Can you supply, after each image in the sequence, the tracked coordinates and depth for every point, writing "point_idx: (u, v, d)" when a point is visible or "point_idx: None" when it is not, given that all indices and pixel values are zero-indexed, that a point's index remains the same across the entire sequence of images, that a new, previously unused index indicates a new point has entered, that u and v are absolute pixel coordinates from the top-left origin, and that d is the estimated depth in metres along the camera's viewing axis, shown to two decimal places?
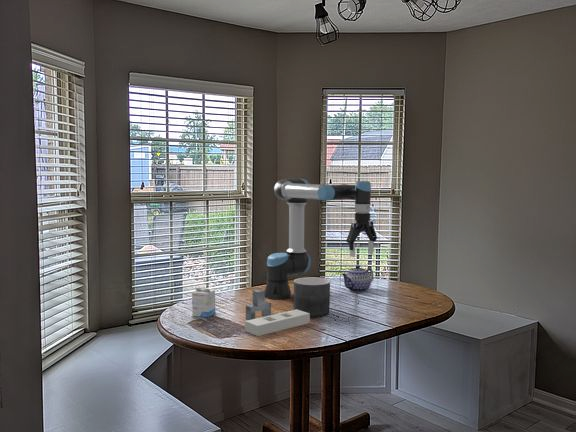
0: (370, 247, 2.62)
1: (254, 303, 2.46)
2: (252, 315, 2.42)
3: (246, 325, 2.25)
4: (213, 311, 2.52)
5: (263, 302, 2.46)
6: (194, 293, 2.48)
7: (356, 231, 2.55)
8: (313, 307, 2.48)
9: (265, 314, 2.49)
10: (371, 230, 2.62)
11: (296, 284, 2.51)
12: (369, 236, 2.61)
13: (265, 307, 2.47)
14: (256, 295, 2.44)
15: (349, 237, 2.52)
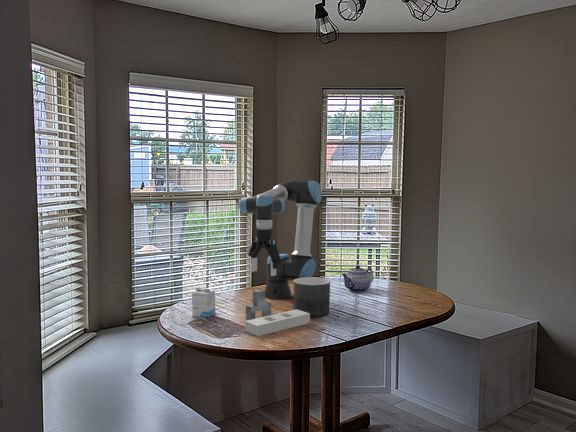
0: None
1: (254, 303, 2.46)
2: (252, 315, 2.42)
3: (246, 325, 2.25)
4: (213, 311, 2.52)
5: (263, 302, 2.46)
6: (194, 293, 2.48)
7: None
8: (313, 307, 2.48)
9: (265, 314, 2.49)
10: None
11: (296, 284, 2.51)
12: None
13: (265, 307, 2.47)
14: (256, 295, 2.44)
15: None
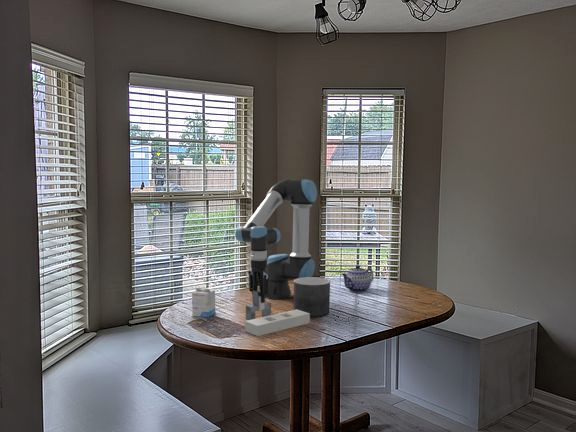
0: None
1: (254, 303, 2.46)
2: (252, 315, 2.42)
3: (246, 325, 2.25)
4: (213, 311, 2.52)
5: None
6: (194, 293, 2.48)
7: None
8: (313, 307, 2.48)
9: (265, 314, 2.49)
10: None
11: (296, 284, 2.51)
12: None
13: (265, 307, 2.47)
14: (256, 295, 2.44)
15: None
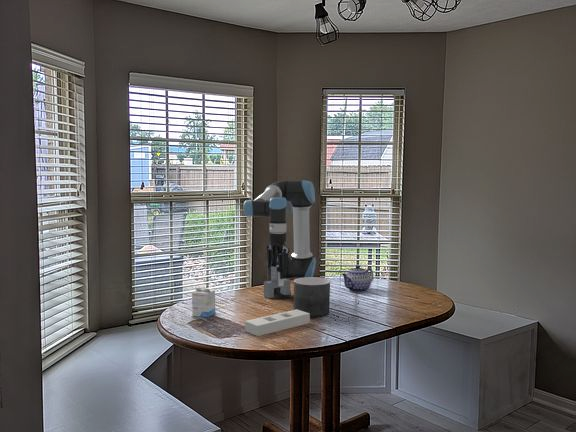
0: None
1: (273, 279, 2.30)
2: (271, 292, 2.27)
3: (246, 325, 2.25)
4: (213, 311, 2.52)
5: None
6: (194, 293, 2.48)
7: None
8: (313, 307, 2.48)
9: (284, 291, 2.33)
10: None
11: (296, 284, 2.51)
12: None
13: (284, 284, 2.32)
14: (275, 271, 2.29)
15: None
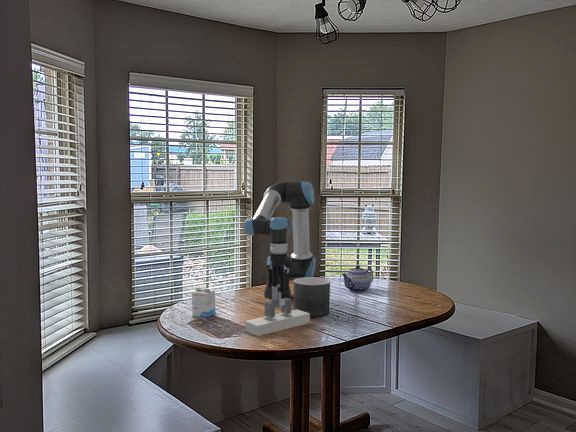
0: None
1: (273, 299, 2.31)
2: (272, 312, 2.27)
3: (246, 325, 2.25)
4: (213, 311, 2.52)
5: None
6: (194, 293, 2.48)
7: None
8: (313, 307, 2.48)
9: (285, 311, 2.34)
10: None
11: (296, 284, 2.51)
12: None
13: (285, 303, 2.32)
14: (276, 290, 2.29)
15: None
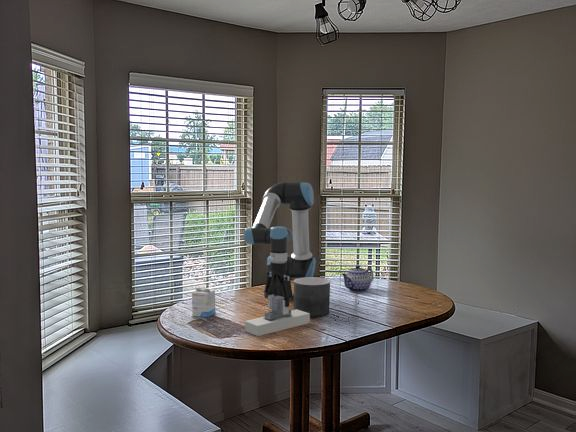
0: None
1: (273, 310, 2.31)
2: None
3: (246, 325, 2.25)
4: (213, 311, 2.52)
5: None
6: (194, 293, 2.48)
7: None
8: (313, 307, 2.48)
9: None
10: None
11: (296, 284, 2.51)
12: None
13: (285, 314, 2.33)
14: (276, 302, 2.30)
15: None
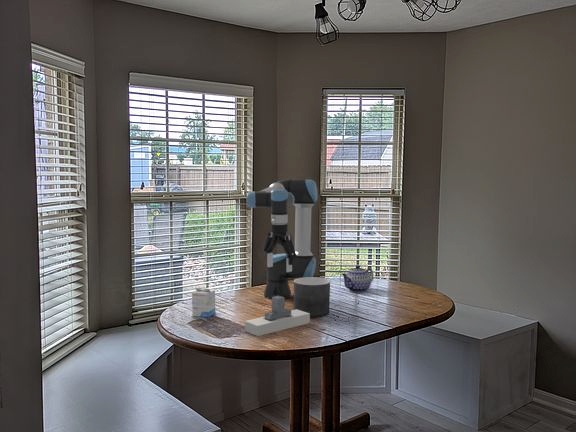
0: None
1: (273, 310, 2.31)
2: None
3: (246, 325, 2.25)
4: (213, 311, 2.52)
5: (283, 309, 2.32)
6: (194, 293, 2.48)
7: None
8: (313, 307, 2.48)
9: None
10: None
11: (296, 284, 2.51)
12: None
13: (285, 314, 2.33)
14: (276, 302, 2.30)
15: None
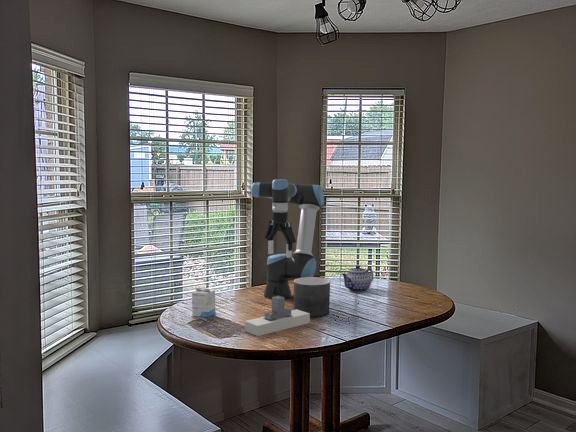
0: None
1: (273, 310, 2.31)
2: None
3: (246, 325, 2.25)
4: (213, 311, 2.52)
5: (283, 309, 2.32)
6: (194, 293, 2.48)
7: None
8: (313, 307, 2.48)
9: None
10: None
11: (296, 284, 2.51)
12: None
13: (285, 314, 2.33)
14: (276, 302, 2.30)
15: None
